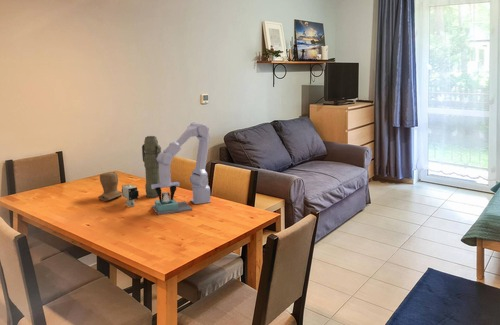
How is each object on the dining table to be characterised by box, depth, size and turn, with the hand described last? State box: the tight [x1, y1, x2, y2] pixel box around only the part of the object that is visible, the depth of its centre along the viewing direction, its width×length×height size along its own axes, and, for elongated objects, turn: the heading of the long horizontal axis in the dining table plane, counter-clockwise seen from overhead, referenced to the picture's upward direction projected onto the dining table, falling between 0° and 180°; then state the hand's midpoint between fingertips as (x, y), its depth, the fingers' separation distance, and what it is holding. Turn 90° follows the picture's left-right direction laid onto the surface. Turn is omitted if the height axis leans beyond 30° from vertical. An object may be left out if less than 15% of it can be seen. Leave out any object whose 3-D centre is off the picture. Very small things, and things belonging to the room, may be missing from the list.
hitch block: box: [151, 198, 193, 216], centre depth 225 cm, size 18×14×4 cm
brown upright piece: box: [97, 171, 123, 202], centre depth 243 cm, size 15×12×15 cm
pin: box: [161, 191, 171, 204], centre depth 223 cm, size 4×4×8 cm
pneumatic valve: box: [121, 183, 139, 208], centre depth 230 cm, size 6×12×12 cm, turn 40°
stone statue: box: [141, 135, 162, 199], centre depth 245 cm, size 9×12×35 cm
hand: (166, 200), depth 224 cm, fingers open, 5 cm apart
